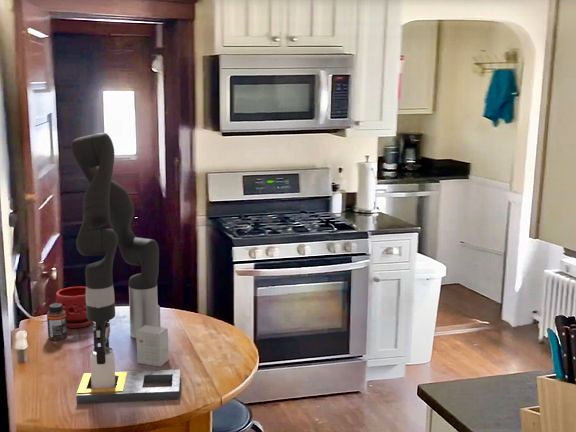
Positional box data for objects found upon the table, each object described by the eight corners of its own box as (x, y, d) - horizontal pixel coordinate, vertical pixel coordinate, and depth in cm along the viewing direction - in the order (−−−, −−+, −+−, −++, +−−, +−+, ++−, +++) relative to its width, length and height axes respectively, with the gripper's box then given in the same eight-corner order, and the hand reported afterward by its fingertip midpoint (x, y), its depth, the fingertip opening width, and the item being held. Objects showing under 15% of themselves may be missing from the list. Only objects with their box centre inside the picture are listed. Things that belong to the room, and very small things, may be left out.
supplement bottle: (50, 334, 236) (48, 302, 233) (68, 333, 236) (67, 301, 234) (46, 341, 230) (44, 308, 228) (64, 340, 230) (63, 307, 228)
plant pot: (104, 323, 247) (102, 290, 244) (70, 333, 237) (69, 299, 234) (83, 314, 255) (81, 282, 252) (50, 323, 245) (48, 290, 243)
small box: (169, 360, 216) (168, 327, 214) (160, 367, 211) (159, 334, 209) (146, 356, 219) (145, 324, 217) (136, 363, 214) (135, 330, 212)
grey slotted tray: (180, 377, 204) (180, 368, 204) (179, 399, 191) (178, 390, 190) (84, 381, 201) (84, 372, 201) (76, 404, 188) (76, 394, 187)
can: (109, 397, 191) (107, 356, 189) (87, 395, 193) (85, 354, 190) (119, 387, 198) (118, 347, 195) (98, 385, 199) (96, 345, 196)
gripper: (89, 293, 196) (92, 347, 199) (81, 310, 182) (85, 368, 186) (117, 292, 197) (119, 346, 200) (111, 309, 183) (114, 367, 187)
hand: (103, 357), depth 193 cm, fingers open, 8 cm apart
